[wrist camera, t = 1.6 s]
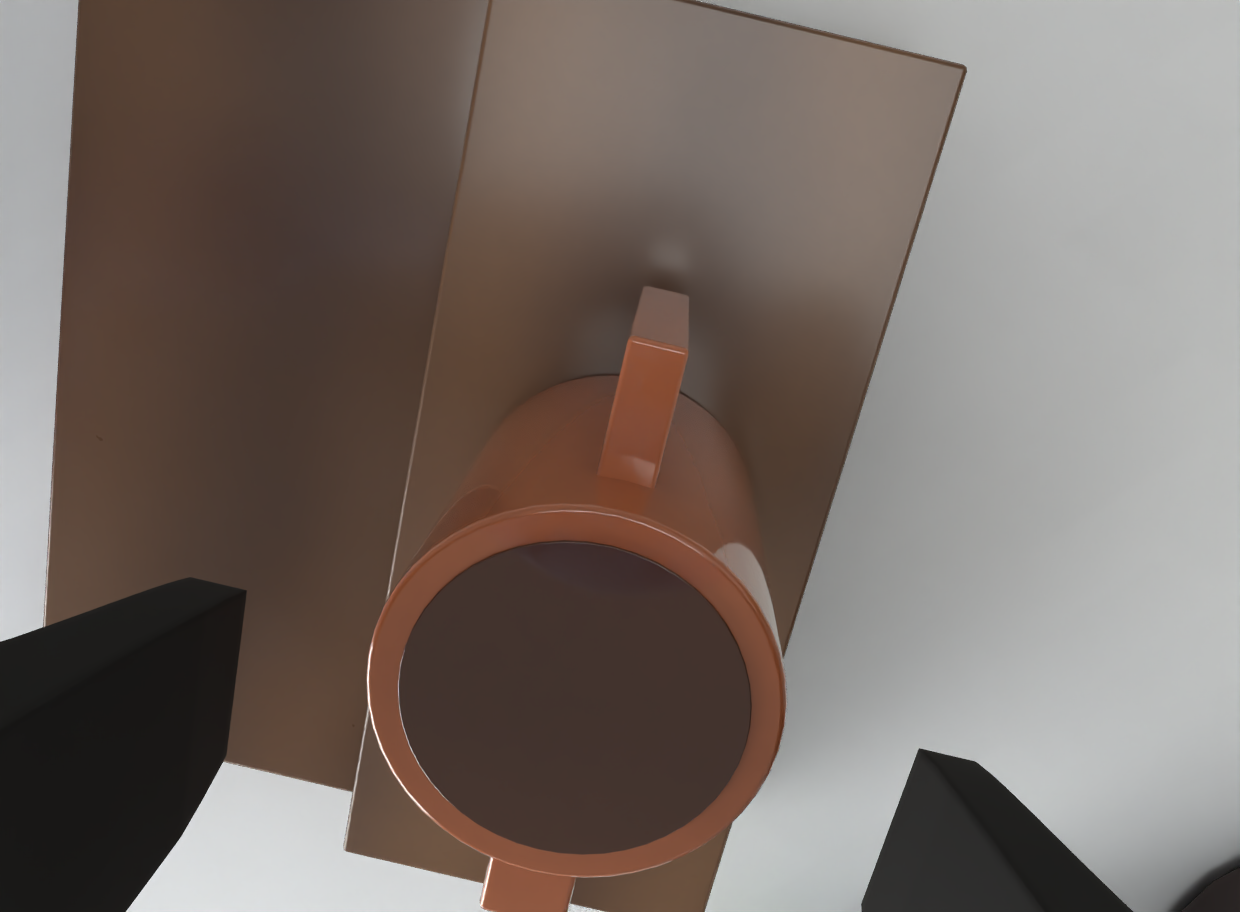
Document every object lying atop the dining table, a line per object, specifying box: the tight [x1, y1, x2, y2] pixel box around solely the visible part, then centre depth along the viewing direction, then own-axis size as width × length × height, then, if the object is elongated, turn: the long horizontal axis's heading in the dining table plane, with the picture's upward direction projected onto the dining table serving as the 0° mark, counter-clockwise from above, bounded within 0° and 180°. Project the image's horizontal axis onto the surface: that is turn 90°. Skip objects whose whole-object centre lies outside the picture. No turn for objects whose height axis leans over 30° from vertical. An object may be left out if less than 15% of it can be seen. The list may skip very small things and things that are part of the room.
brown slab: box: [43, 0, 967, 912], centre depth 19 cm, size 14×16×4 cm
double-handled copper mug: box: [366, 286, 787, 912], centre depth 15 cm, size 5×7×6 cm, turn 167°
